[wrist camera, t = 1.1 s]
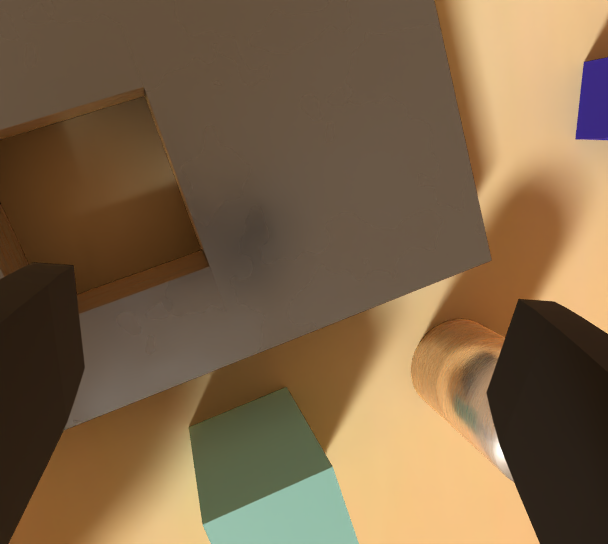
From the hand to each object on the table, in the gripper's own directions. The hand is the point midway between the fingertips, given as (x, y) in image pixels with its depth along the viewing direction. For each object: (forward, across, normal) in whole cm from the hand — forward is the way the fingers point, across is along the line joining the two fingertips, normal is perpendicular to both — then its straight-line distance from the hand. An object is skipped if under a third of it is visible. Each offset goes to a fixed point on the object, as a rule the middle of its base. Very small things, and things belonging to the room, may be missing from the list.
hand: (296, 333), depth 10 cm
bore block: (+11, +4, +2) cm, 12 cm away
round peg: (+11, -8, +9) cm, 16 cm away
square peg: (+8, 0, +12) cm, 15 cm away
